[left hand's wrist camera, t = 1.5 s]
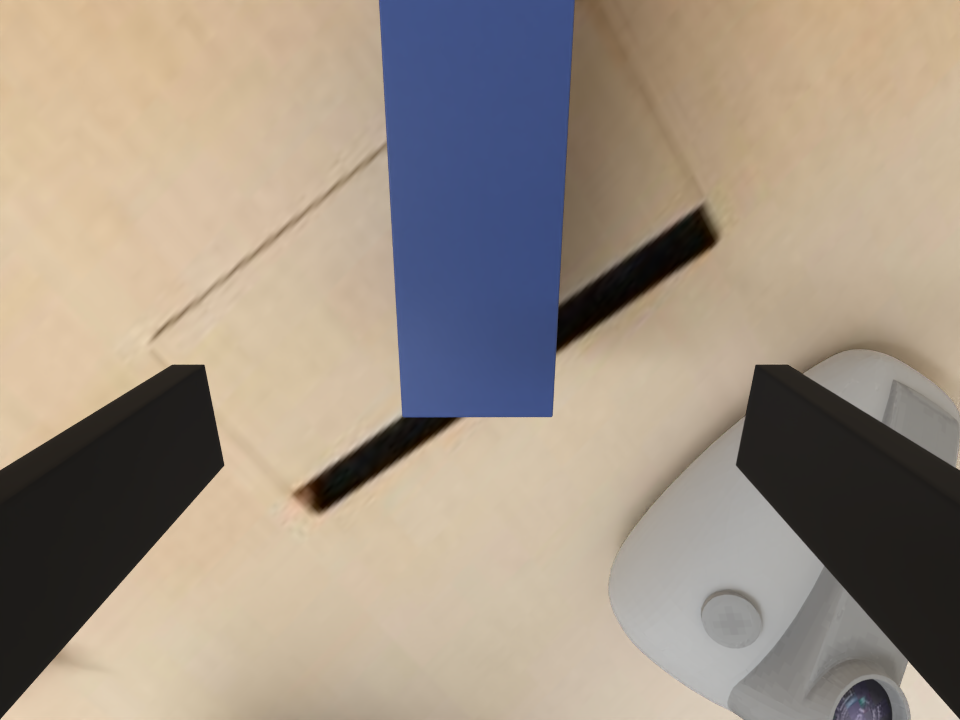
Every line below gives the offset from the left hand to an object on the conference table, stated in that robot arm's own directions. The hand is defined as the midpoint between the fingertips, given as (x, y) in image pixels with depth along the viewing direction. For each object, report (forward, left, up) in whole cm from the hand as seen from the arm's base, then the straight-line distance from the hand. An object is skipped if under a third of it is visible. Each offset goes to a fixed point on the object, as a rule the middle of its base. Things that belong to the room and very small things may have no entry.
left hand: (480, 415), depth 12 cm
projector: (-15, -20, -19) cm, 31 cm away
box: (+9, 0, -19) cm, 21 cm away
